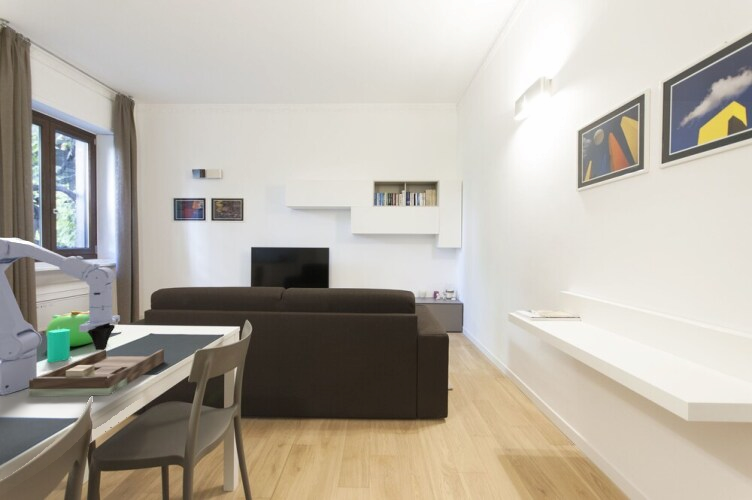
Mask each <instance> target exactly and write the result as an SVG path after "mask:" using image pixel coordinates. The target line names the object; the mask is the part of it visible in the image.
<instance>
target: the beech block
mask: <svg viewBox="0 0 752 500" xmlns="http://www.w3.org/2000/svg"><path fill="white" fill-rule="evenodd" d="M66 377H94V365H78V366H75V367H73V368H71V369H69V370H66Z"/></svg>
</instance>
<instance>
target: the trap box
mask: <svg viewBox="0 0 752 500" xmlns="http://www.w3.org/2000/svg"><path fill="white" fill-rule="evenodd" d="M164 356H165V349H164V348H163V349H159V350H157V351H155V352H153V353H151V354H150V355H148V356H146V355H145V356H142V355H141V356H140V355H139V356H133V355H132V356H131V355H130V356H123V355H122V356H107V349H104V350H98V351H96V352H94V353H92V354H90V355H87V356H84V357H82V358H80V359H77V360H74V361H72V362H70V363H67V364H65V365H63V366H60V367H58V368H56V369H53V370H51V371H48V372H46V373H43V374H41V375H38V376H37V377H35V378H33V379H31V380H29V387H28V397H81V396H83V397H85V396H87V397H92V396H91V395H108V396H110V395H112V394H113V393H115V392H117V391H119V390H120V389H122V388H123V387H125V386H126V385H129V384H130V383H132V382H133V381H135V380H136V379H138V378H139V377H142V376H143V375H145V374H146V373H148V372H149V371H152V370H153V369H154V368H156V367H157V366H159V365H161V364H162V363H164V362H165V360H164V359H165V357H164ZM78 365H94V377H66V370H69V369H71V368H73V367H75V366H78ZM124 385H125V386H124ZM121 387H122V388H121ZM119 388H120V389H119ZM116 390H117V391H116ZM114 391H115V392H114ZM112 392H113V393H112ZM111 393H112V394H111ZM109 394H110V395H109Z"/></svg>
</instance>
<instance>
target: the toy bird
mask: <svg viewBox="0 0 752 500" xmlns="http://www.w3.org/2000/svg"><path fill="white" fill-rule="evenodd" d="M52 318H53V319H52V320H51V321H50V322H49V323H48V325H47V327H46V329H45V335H46V337H47V332H49V331H52V330H57V329H58V326H59V329H70V348H71V347H79V346H83V345H88V344H91V343H92V342H93V340H92V338H91V336H90V335H89V333H88V332H79V325H82V324H84V323H86V322H88V321H89V310H88V311H74V310H73V311H70V312H67V313H63V314H61V315H60V314H53V315H52Z"/></svg>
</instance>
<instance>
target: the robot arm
mask: <svg viewBox="0 0 752 500" xmlns="http://www.w3.org/2000/svg"><path fill="white" fill-rule="evenodd" d="M26 257H27V258H30V259H34V260H36V261H40V262H43V263H46V264H49V265H52V266H55V267H57V268H59V271H60V273H61V274H65V275H66V276H70V277H73V278H75V279H78V280H80V281H83V282H85V283H86V285H88V287H89V289H88V290H89V293H88V296H89V297H88V301H89V302H88V304H89V305H88V307H89V308H88V311H89V321H88V322H86V323H84V324H82V325H79V332H88V333H89V335H90V336H91V338H92V340H93V341H92V342H93V345H94V348H95V350H96V351H101V350H107V349H106V348H107V345H108V343H109V339H110V337H111V334H112V332H113V331H114V329H115V328H116V326H115V324H113V323H118V322H120V321H121V315H118V314H117V315H113V303H114V302H113V298H114V297H113V295H114V294H113V283H114V282H115V280H116V276H117V274H116V272H115V271H114V270H113V269H112V268H111V267H109V266H102V267H100V264H99V263H93V262H89V261H87V260H84V257H82V256H80V255H77V256H73V255H72V256H68V257H66V256H64V255H61V254H59V253H56V252H54V251H52V250H49V249H47V248H46V247H43V246H41V245H38V244H36V243H33V242H31V241H27V240H23V239H21V238H18V237H0V395H2V396H6V395H9V394H12V393H16V392H19V391H21V390H24V389H29V380H31V379H33V378H35V377H38V376H37V374H38V373H37V367H38V366H37V364H38V363H37V362H38V361H37V359H38V358H37V356H38V355H37V354H38V353H37V350H38V349H37V348H39V347H40V345H41V344H42V341H43V337H42V335H41V334H40V332H37V330H36V329H35V328H34V325H32V324H31V323H29V322H28V321H26V320H25V318H24V315H23V314H22V311H21V309H20V306H19V304H18V302H17V300H16V297H15V294H14V292H13V290H12V288H11V285H10V282H9V280H8V278H7V275H6V273H5V272H6V270H7V269H8V268H9V267H10V266H11V265H12V264H13V263H15V262H16V261H17V260H19V259H22V258H26Z"/></svg>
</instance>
